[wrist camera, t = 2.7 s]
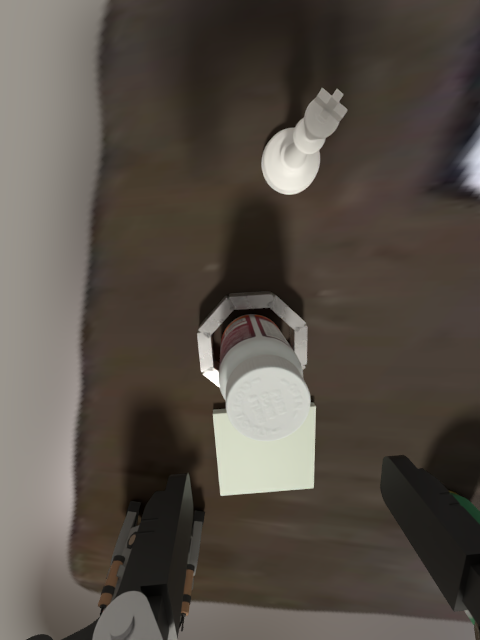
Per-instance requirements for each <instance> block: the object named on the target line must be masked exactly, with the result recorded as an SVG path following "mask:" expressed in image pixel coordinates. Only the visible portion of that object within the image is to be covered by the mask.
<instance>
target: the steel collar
mask: <svg viewBox="0 0 480 640" xmlns="http://www.w3.org/2000/svg"><path fill="white" fill-rule="evenodd" d="M256 308H270V309H272V310H273V311H274V312H275V313H276V314H277V315H278V316H279V317H280V318H282V319H283V320H284V321H285V322H286V323H287V324H288V325H289V326H290V346H291V348H292V349H293V351H294V352H295V353H296V355H297V357H298V359H299V361H300V363H301V366H302V370H303V369H304V368H305V366H304V365H307V325H306V322H305V321H303V320H302V319H301V318H300V317H299V316H298V315H297V314H296V313H295V312H294V311H293V310H292V309H290V308H289V307H288V306H287V305H286V304H285V303H284V302H283V301H282V300H281V299H280V298H278V297H277V296H276V295H275V294H274V293H273V292H272V293H271V292H270V291H260V292H243V293H229V297H228V296H227V295H226V296H225V297H224V298H223V299H222V300H221V301H220V302H219V304H218V305H217V306H216V307H215V308H214V309H213V310H212V311H211V313H210V314H209V315H208V316H207V317H206V318H205V319H204V321H203V322H202V323H201V324H200V326H199V329H198V332H197V337H198V347H199V356H200V366H201V372H203V375H204V376H205V377H207V378H208V379H209V380H211V381H212V382H213V383H214V384H216V385H217V386H218V387H220V386H219V366H220V363H219V362H217V361H216V360H215V359H214V348H213V336H212V333H213V332H214V331H215V330H216V329H217V328H218V327H219V326H220V325H221V323H222V322H223V321H224V320H225V319H226V318H227V317H228V316H229V315H230V314H231V312H232V311H233V310H240V309H256Z"/></svg>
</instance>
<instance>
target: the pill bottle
mask: <svg viewBox="0 0 480 640" xmlns="http://www.w3.org/2000/svg"><path fill="white" fill-rule="evenodd" d="M219 386H220V390H221V393H222V395H223V397H224V399H225V400H226V411H227V415H228V418H229V420H230V422H231V424H232V425H233V426H234V428H235V429H236V430H237V431H238V432H240V433H241V434H242V435H244V436H246V437H248V438H251V439H254V440H258V441H274V440H278V439H282V438H285V437H287V436H289V435H290V434H292V433H293V432H295V431H296V430H297V429H298V428H299V427H300V426H301V425H302V424H303V423H304V421H305V420H306V418H307V416H308V413H309V410H310V403H311V399H310V393H309V390H308V387H307V385H306V383H305V381H304V379H303V370H302V366H301V363H300V361H299V359H298V357H297V355H296V353H295V352H294V351H293V349H292V348H291V346H290V345H289V343H288V342H287V340H286V339H285V337H284V336H283V334H282V333H281V331H280V330H279V328H278V327H277V326H276V324H275V323H274V322H273V321H271V320H270V319H268V318H267V317H264V316H262V315H257V314H247V315H243V316H240V317H238V318H236V319H234V320H233V321H232V322H231V323H230V324H229V325H228V326H227V327H226V329H225V331H224V333H223V336H222V340H221V350H220V366H219Z"/></svg>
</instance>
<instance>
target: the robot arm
mask: <svg viewBox="0 0 480 640" xmlns="http://www.w3.org/2000/svg"><path fill="white" fill-rule="evenodd" d="M380 488H381V493H382V497H383V499H384V502H385V503H386V505H387V507H388V508H389V510H390V512H391V513H392V515H393V516H394V518H395V519H396V521H397V523H398V524H399V526H400V527H401V529H402V531H403V532H404V534H405V535H406V537H407V538H408V540H409V542H410V543H411V545H412V546H413V548H414V549H415V551H416V553H417V554H418V556H419V557H420V559H421V561H422V562H423V564H424V565H425V567H426V568H427V570H428V572H429V573H430V575H431V576H432V578H433V580H434V581H435V583H436V584H437V586H438V587H439V589H440V591H441V592H442V594H443V595H444V597H445V598H446V600H447V602H448V603H449V605H450V606H451V608H452V610H453V611H454V612H455V611H464V610H468V611H469V612H470V614H471V615H472V617H473V618H474V620H475V624H474V630H475V638H476V640H480V524H479V523H478V522H477V521H476V520H475V519H474V518H473V517H472V516H471V514H470V513H469V512H468V511H467V510H466V509H465V508H464V507H463V506H461V505H460V503H459V502H458V501H457V499H456V498H455V497H454V496H453V495H451V494H450V492H449V491H448V490H447V489H446V488H445V487H444V485H443V484H442V483H441V482H440V481H439V480H438V479H437V478H435V477H434V476H432V475H431V474H429V473H428V472H427V471H425V470H424V469H422V468H421V469H417V468H416V467H415V465H414V464H413V463H412V462H411V461H410V460H409V459H408V458H407V457H406V456H404V455H399V456H387V457H384V458H383V464H382V474H381V484H380ZM192 523H193V499H192V491H191V484H190V476H189V473H185V474H174V475H170V476H169V478H168V482H167V486H166V489H165V491H156V492H155V493H154V494H153V496H152V497H151V498H150V500H149V501H148V503H147V504H146V506H145V509H144V512H143V515H142V519H141V523H140V525H139V528H138V531H137V536H136V537H135V540H134V543H133V546H132V550H131V553H130V556H129V559H128V562H127V565H126V568H125V571H124V574H123V577H122V581H121V584H120V587H119V589H118V592H117V594H116V596H115V598H114V600H113V601H112V602H111V603H110V604H109V605H108V606H107V607H106V609H105V610H104V611H103V613H102V615H101V616H100V617H99V618H98V619H97V620H96V621H94V622H93V623H92V624H90V625H89V626H87V627H86V628H84V629H82V630H80V631H78V632H76V633H74V634H72V635H70V636H68V637H66V638H64V639H62V640H177V639H178V632H179V624H180V616H181V609H182V601H183V593H184V585H185V577H186V570H187V562H188V554H189V546H190V539H191V531H192ZM27 640H53V639H52V638H51V637H50V636H48V635H44V634H40V635H36V636H33V637H31V638H29V639H27Z"/></svg>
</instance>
